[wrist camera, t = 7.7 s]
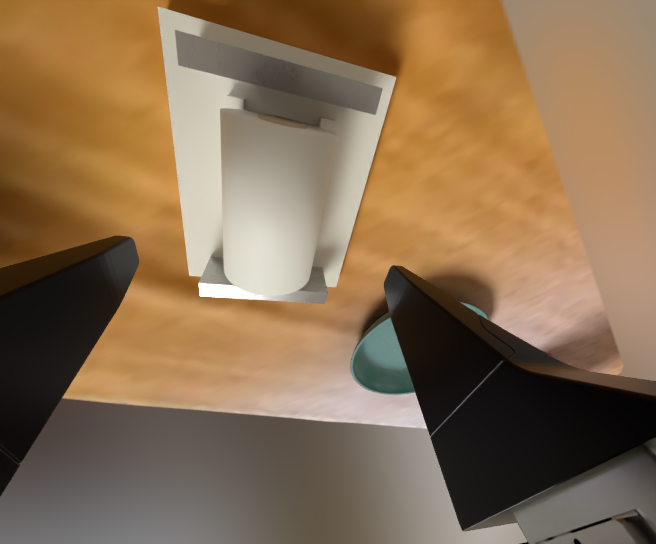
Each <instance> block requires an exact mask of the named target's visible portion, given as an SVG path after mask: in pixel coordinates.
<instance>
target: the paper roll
mask: <svg viewBox="0 0 656 544" xmlns="http://www.w3.org/2000/svg"><path fill="white" fill-rule="evenodd" d="M220 133H221V176H222V218H223V260H224V273H225V276H226V277H227V279H228V280H229V281H230V282H231V283H232V284H233V285H235V286H236V287H238V288H240V289H242V290H244V291H246V292H249V293H253V294H257V295H265V296H278V295H285V294H289V293H293V292H295V291H297V290H299V289H301V288H302V287H304V286H305V285H306V284H307V282H308V281H309V278H310V274H311V269H312V264H313V260H314V255H315V250H316V245H317V241H318V236H319V231H320V226H321V221H322V217H323V212H324V207H325V202H326V198H327V193H328V188H329V183H330V178H331V174H332V169H333V164H334V159H335V155H336V150H337V145H338V140H339V135H338V134H336V133H334V132H332V131H329V130H327V129H324V128H321V127H318V126H314V125H311V124H307V123H304V122H300V121H296V120H292V119H288V118H284V117H279V116H275V115H270V114H265V113H260V112H254V111H248V110H241V109H232V108H222V109H220Z"/></svg>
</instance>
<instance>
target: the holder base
mask: <svg viewBox="0 0 656 544" xmlns="http://www.w3.org/2000/svg"><path fill="white" fill-rule="evenodd" d="M158 15H159V23H160V32H161V40H162V49H163V57H164V66H165V74H166V83H167V91H168V100H169V108H170V117H171V125H172V134H173V142H174V151H175V159H176V168H177V176H178V185H179V193H180V202H181V210H182V219H183V227H184V236H185V244H186V253H187V261H188V270H189V276H200V277H202V275H203V272H204V270H205V268H206V266H207V263H208V261H209V259H210V257H218V258H223V218H222V176H221V133H220V109H222V108H232V109H241V110H248V111H254V112H260V113H265V114H270V115H275V116H279V117H284V118H288V119H292V120H296V121H300V122H304V123H307V124H311V125H314V126H318V127H321V128H324V129H327V130H329V131H332V132H334V133H336V134H338V135H339V140H338V145H337V150H336V155H335V159H334V164H333V169H332V174H331V178H330V183H329V188H328V193H327V198H326V202H325V207H324V212H323V217H322V221H321V226H320V231H319V236H318V241H317V245H316V250H315V255H314V260H313V264H312V267H322V268H323V273H324V277H325V282H326V286H327V287H336V285H337V282H338V278H339V275H340V271H341V268H342V265H343V261H344V258H345V254H346V251H347V247H348V244H349V240H350V237H351V233H352V230H353V226H354V223H355V219H356V216H357V213H358V209H359V206H360V202H361V199H362V195H363V192H364V188H365V185H366V181H367V178H368V174H369V171H370V167H371V164H372V160H373V157H374V154H375V150H376V147H377V143H378V140H379V136H380V133H381V129H382V126H383V122H384V119H385V115H386V112H387V108H388V105H389V102H390V98H391V95H392V91H393V88H394V84H395V81H396V77H394V76H391V75H388V74H384V73H381V72H377V71H374V70H371V69H367V68H364V67H361V66H357V65H354V64H350V63H347V62H344V61H340V60H337V59H334V58H330V57H327V56H323V55H320V54H317V53H313V52H310V51H307V50H303V49H300V48H296V47H293V46H290V45H286V44H283V43H280V42H276V41H273V40H269V39H266V38H263V37H259V36H256V35H253V34H249V33H246V32H242V31H239V30H236V29H232V28H229V27H226V26H222V25H219V24H215V23H212V22H209V21H205V20H202V19H198V18H195V17H192V16H188V15H185V14H182V13H178V12H175V11H171V10H168V9H165V8H161V7H158ZM175 30H178V31H181V32H185V33H188V34H192V35H196V36H199V37H203V38H206V39H210V40H213V41H217V42H220V43H224V44H228V45H231V46H235V47H238V48H242V49H245V50H249V51H252V52H256V53H260V54H263V55H267V56H270V57H274V58H277V59H281V60H284V61H288V62H292V63H295V64H299V65H302V66H306V67H309V68H313V69H316V70H320V71H324V72H327V73H331V74H334V75H338V76H341V77H345V78H348V79H352V80H356V81H359V82H363V83H366V84H370V85H373V86H377V87H381V88H383V90H382V94H381V97H380V101H379V105H378V109H377V112H376V115H373V114H369V113H365V112H361V111H357V110H353V109H349V108H345V107H341V106H337V105H333V104H329V103H325V102H322V101H318V100H314V99H310V98H306V97H302V96H298V95H294V94H290V93H286V92H282V91H278V90H274V89H270V88H266V87H262V86H258V85H254V84H250V83H246V82H242V81H238V80H234V79H230V78H226V77H222V76H219V75H215V74H211V73H207V72H203V71H199V70H195V69H191V68H187V67H183V66H179V65H178V58H177V48H176V37H175Z"/></svg>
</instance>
